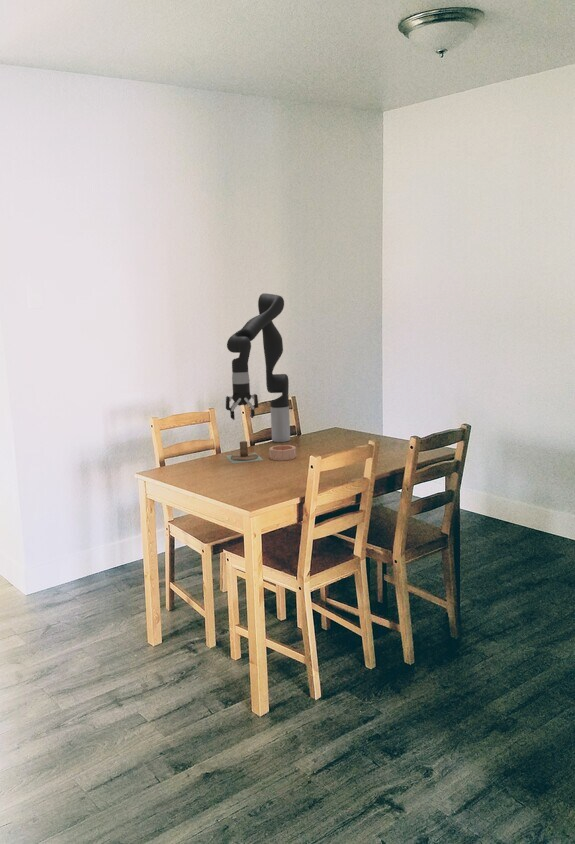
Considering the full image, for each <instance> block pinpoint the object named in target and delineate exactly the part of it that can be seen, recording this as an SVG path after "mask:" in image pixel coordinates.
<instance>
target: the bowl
mask: <svg viewBox="0 0 575 844" xmlns="http://www.w3.org/2000/svg"><path fill="white" fill-rule="evenodd" d="M296 449H297V448H296V446H295V445H291V444H279V445H278V444H277V445H273V446H270V447H269V449H268V451H269V458H270V459H271V461H277V462H278V461H291V460H293V459H295V458H296V456H297V455H296V454H297V453H296V451H297V450H296Z"/></svg>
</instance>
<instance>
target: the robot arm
mask: <svg viewBox="0 0 575 844" xmlns="http://www.w3.org/2000/svg"><path fill="white" fill-rule="evenodd" d="M257 301H258V302H257V303H258V304H257V307H258V315H255V316H253V317H252V318H250V319H248V321H247V322H246V323H245V324H244V325H243V327H242V328H241V329H240V330H238V331H236V332H235V333H233V334H232V335H231V336H230V337H229V338H228V340H227V342H226V348H227V350H228V352H230V353H233V354H234V353H235V354H236V353H239V354H238V355H239V356H238V357H236V358H234V359H232V361H231V372H232V373H231V383H232V385H231V386H232V396H228V395H226V396H225V409H226V410H227V411H229V413H230V419H231V420H233V421H234V420H235V411H234V410H236V408H237V406H246V405H247V406H248V407H249V408H250V418H251V419H254V417H255V415H256V414H255V410H256V409H257V408H259V400H258V395H257V394H256V393H254V394H251V386H250V385H251V383H250V380H251V379H250V374H249V361H250V360H249V359H250V355H251V354H250V353H251V350H252V341H254V340H255V338H256V337H257V336H258V335H259V333H260V332H261V331H262V345H263V352H264V353H263V354H264V361H265V378H266V379H265V380H266V382H265V383H266V389H267V390H266V391H267V392H268V393H270V394H281V395H280V396H278V397H277V398H275V399H272V400H271V401H270V403H269V405H270V425H271V442H275V443H285V442H289V441H290V440H291V425H290V422H291V421H290V420H291V419H290V402H289V401H290V399H289V396H290V395H289V384H290V383H289V376H288V375H287V374H286V373H280V374H279V373H278V374H277V373H275V374H273V372H274V369H275V367H276V365H277V363H278V362H279V360H280V358H281V356H282V354H283V353H284V342H283V337H282V334H281V333H280V331H279V330H278V328H277V327H276V325H275V324H274V322H273V320H274V319H276V318H277V317H279V315H281V313H282V312H283V310H284V308H285V300H284V297H283V296H281V295H279V294H271V293H266V292H265V293H261V294H260V295H259V297H258V300H257ZM251 399H252V400H253V402H254V403H253V404H254V405H253V404H252V402H250V400H251ZM232 400H233V403H232V404H231V406H230V402H231V401H232Z"/></svg>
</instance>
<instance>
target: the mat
mask: <svg viewBox="0 0 575 844" xmlns="http://www.w3.org/2000/svg"><path fill="white" fill-rule="evenodd" d="M253 453H254V454H257V452H253ZM232 455H233V454H227V455H225V457H226V458H227V459H228V460H229V461H230V463H232V464H239V463H251V462H257V461H264V459H263V458H262V456H260V455H259V454H257V455H258V458H256V459H254V460H248V461H235V460H232V459H231V456H232Z"/></svg>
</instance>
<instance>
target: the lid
mask: <svg viewBox="0 0 575 844" xmlns="http://www.w3.org/2000/svg"><path fill="white" fill-rule="evenodd" d="M239 450H240V451H239V453H236V454H235V453H234V454H231V455H232V456H231V459H232V460H235V461H248V460H254V459H256V458H258V455H259V454H258V455H257V453H256V454H254V453H255V452H250V453H249V451H248V450H249V449H248V441H245V440H243V441H239Z"/></svg>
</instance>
